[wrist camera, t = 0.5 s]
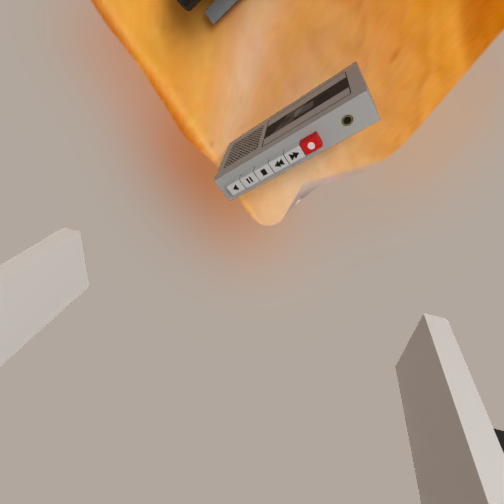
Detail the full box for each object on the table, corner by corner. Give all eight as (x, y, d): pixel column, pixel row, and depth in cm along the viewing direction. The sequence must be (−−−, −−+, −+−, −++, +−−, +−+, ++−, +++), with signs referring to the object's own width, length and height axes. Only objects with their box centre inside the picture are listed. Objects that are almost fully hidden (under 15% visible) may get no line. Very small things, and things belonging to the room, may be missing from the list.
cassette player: (356, 61, 32) (369, 94, 25) (367, 86, 33) (382, 124, 26) (230, 142, 39) (211, 186, 32) (243, 160, 41) (228, 206, 33)
